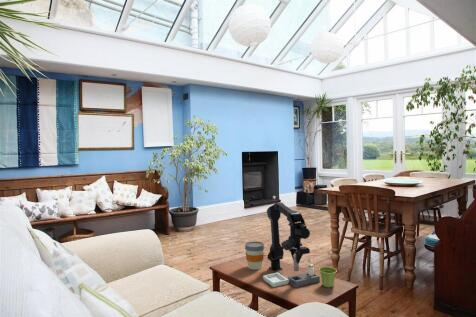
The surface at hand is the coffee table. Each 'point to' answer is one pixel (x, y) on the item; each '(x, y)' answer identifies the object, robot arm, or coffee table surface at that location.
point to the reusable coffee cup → (254, 254)
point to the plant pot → (328, 276)
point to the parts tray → (275, 279)
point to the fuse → (310, 270)
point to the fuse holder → (303, 279)
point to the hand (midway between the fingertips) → (296, 262)
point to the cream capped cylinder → (295, 263)
